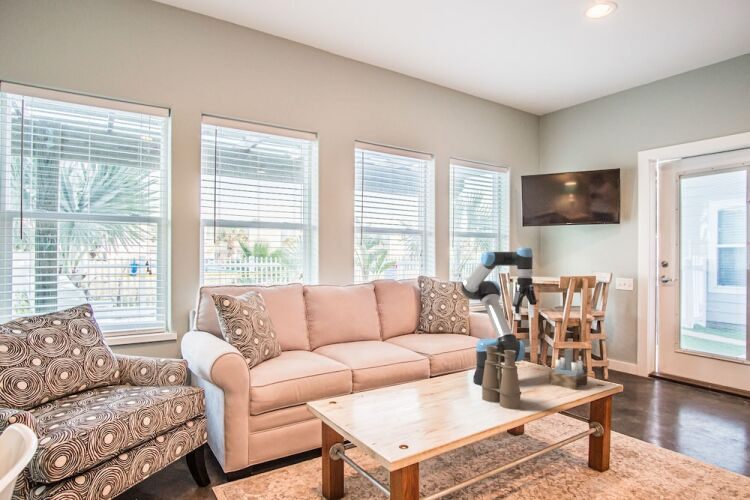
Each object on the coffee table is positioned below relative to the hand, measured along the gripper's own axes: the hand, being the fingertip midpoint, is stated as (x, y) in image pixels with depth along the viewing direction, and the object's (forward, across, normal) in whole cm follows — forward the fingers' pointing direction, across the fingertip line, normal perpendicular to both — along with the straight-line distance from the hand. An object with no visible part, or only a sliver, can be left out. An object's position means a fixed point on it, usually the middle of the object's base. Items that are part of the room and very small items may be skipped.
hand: (525, 318), depth 216 cm
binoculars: (+37, -26, -2) cm, 45 cm away
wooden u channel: (+37, +27, -10) cm, 47 cm away
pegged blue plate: (+31, +28, -10) cm, 43 cm away
